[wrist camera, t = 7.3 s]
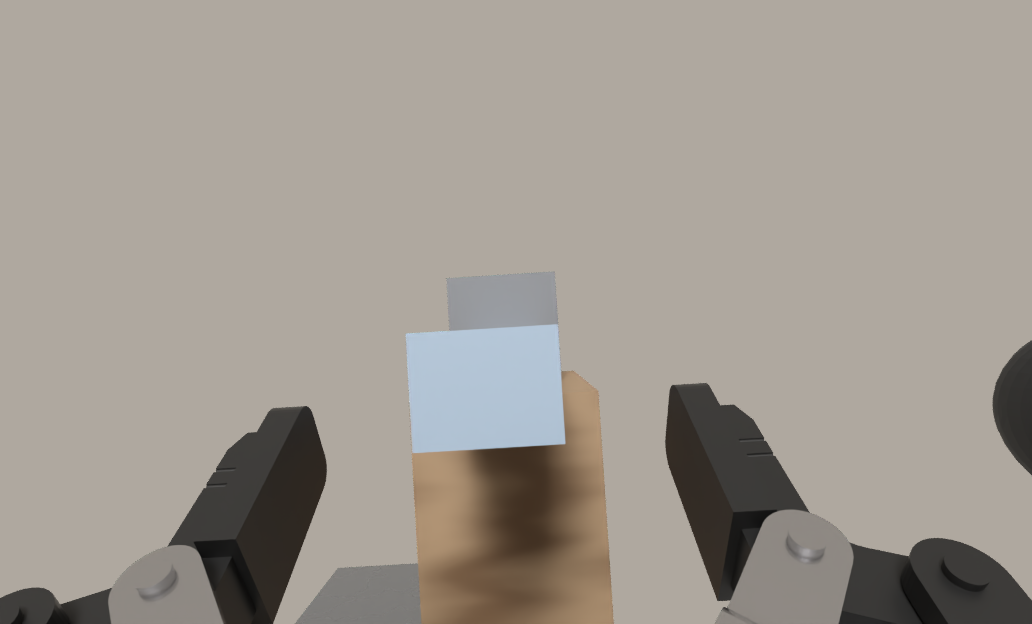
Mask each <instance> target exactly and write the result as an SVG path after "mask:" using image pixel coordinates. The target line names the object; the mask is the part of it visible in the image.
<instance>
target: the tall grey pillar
mask: <svg viewBox="0 0 1032 624" xmlns="http://www.w3.org/2000/svg"><path fill="white" fill-rule="evenodd" d="M295 624H421V608H420V590H419V572H418V564H401V565H384V566H366V567H349V568H338V569H337V570H336V571H335V573H334V574H333V575H332V577H331V578H330V579H329V580H328V582H327V583H326V584H325V586H324V587H323V588H322V589H321V591H320V592H319V593H318V595H317V596H316V597H315V598H314V600H313V601H312V602H311V604H310V605H309V606H308V608H307V609H306V610H305V612H304V613H303V614H302V615H301V617H300V618H299V619H298V620H297V622H296V623H295Z"/></svg>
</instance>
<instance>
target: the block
mask: <svg viewBox="0 0 1032 624" xmlns="http://www.w3.org/2000/svg"><path fill="white" fill-rule="evenodd" d="M447 296H448V313H449V330H450V331H442V332H425V333H409V334H406V346H407V365H408V383H409V401H410V419H411V437H412V453H425V452H442V451H458V450H475V449H492V448H508V447H525V446H541V445H558V444H565V429H564V413H563V398H562V382H561V380H562V378H561V363H560V347H559V332H558V316H557V301H556V286H555V272H540V273H524V274H508V275H493V276H476V277H461V278H447Z"/></svg>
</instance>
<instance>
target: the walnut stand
mask: <svg viewBox="0 0 1032 624" xmlns="http://www.w3.org/2000/svg"><path fill="white" fill-rule="evenodd" d="M561 378H562V380H561V382H562V398H563V413H564V429H565V444H558V445H541V446H525V447H508V448H492V449H475V450H458V451H442V452H425V453H412V464H413V481H414V500H415V517H416V535H417V554H418V572H419V590H420V608H421V624H614V622H613V606H612V591H611V575H610V561H609V545H608V530H607V516H606V500H605V485H604V470H603V455H602V440H601V426H600V410H599V395H598V390H596V389H595V388H594V387H593V386H592V385H590V384H589V383H588V382H587V381H585V380H584V379H583V378H582V377H581V376H579V375H578V374H577V373H576V372H574V371H562V372H561ZM409 411H410V402H409ZM410 429H411V419H410ZM411 446H412V437H411Z"/></svg>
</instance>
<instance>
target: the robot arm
mask: <svg viewBox="0 0 1032 624" xmlns="http://www.w3.org/2000/svg"><path fill="white" fill-rule="evenodd" d="M993 413H994V418H995V422H996V425H997V429H998V431H999V433H1000V435H1001V437H1002V439H1003V441H1004V443H1005V445H1006V446H1007V447H1008V449H1009V450H1010V452H1011V453H1012V454H1013V456H1014V457H1015V458H1016V460H1017V461H1018V462H1019V463H1020V464H1021V465H1022V466H1023V467H1024V468H1025V469H1026V470H1027V471H1028V472H1029V473H1030V474H1031V475H1032V341H1030V342H1028V343H1027V344H1026V345H1024V346H1023V347H1022V348H1020V349H1019V350H1018V351H1017V352H1016V353H1015V354H1014V355H1013V356H1012V358H1011V359H1010V360H1009V362H1008V363H1007V364H1006V366H1005V367H1004V368H1003V370H1002V372H1001V374H1000V376H999V378H998V380H997V382H996V386H995V390H994V395H993ZM665 443H666V454H667V460H668V465H669V468H670V470H671V474H672V476H673V479H674V482H675V485H676V487H677V490H678V493H679V496H680V498H681V501H682V504H683V506H684V509H685V512H686V515H687V518H688V520H689V523H690V526H691V528H692V532H693V534H694V537H695V540H696V543H697V545H698V548H699V551H700V554H701V556H702V559H703V562H704V565H705V567H706V570H707V573H708V575H709V578H710V581H711V584H712V587H713V589H714V592H715V595H716V598H717V601H727V600H731V601H730V603H729V605H728V607H727V608H725V607H724V608H723V609H722V610H721V612H720V614H719V616H718V618H717V620H716V622H715V624H1032V600H1031V599H1030V598H1029V597H1028V596H1027V594H1026V593H1025V592H1024V591H1023V589H1022V588H1021V587H1020V586H1019V585H1018V583H1017V582H1016V581H1015V580H1014V579H1013V577H1012V576H1011V575H1010V574H1009V573H1008V572H1007V571H1006V570H1005V569H1004V568H1003V567H1002V566H1001V565H1000V564H999V563H998V562H996V561H995V560H994V559H992V558H991V557H989V556H988V555H986V554H985V553H983V552H981V551H979V550H977V549H975V548H973V547H971V546H969V545H966V544H964V543H961V542H957V541H954V540H948V539H943V538H931V539H926V540H922V541H920V542H918V543H917V544H916V545H915V546H914V547H913V548H912V550H911V552H910V555H909V556H903V555H899V554H894V553H889V552H884V551H880V550H875V549H869V548H865V547H862V546H857V545H855V544H852V543H849V541H848V540H847V538H846V537H845V536H844V535H843V533H842V532H841V531H840V530H838V528H837V527H835V526H834V525H833V524H831V523H830V522H828V521H826V520H825V519H823V518H821V517H819V516H817V515H815V514H812V513H810V512H809V511H808V509H807V508H806V506H805V504H804V503H803V501H802V499H801V498H800V496H799V494H798V493H797V491H796V489H795V488H794V486H793V485H792V483H791V481H790V480H789V478H788V477H787V475H786V473H785V471H784V470H783V468H782V466H781V465H780V463H779V461H778V460H777V459H776V457H775V456H773V452H772V450H771V448H770V447H769V445H768V443H767V442H766V441H764V437H763V435H762V434H761V432H760V430H759V429H758V427H757V425H756V424H755V422H754V420H753V419H752V418H750V417H749V416H748V415H746V414H745V413H744V412H743V411H741V410H740V409H739V408H737V407H736V406H735V405H721V406H720V404H719V403H718V401H717V399H716V397H715V395H714V393H713V392H712V390H711V388H710V386H709V385H708V384H707V383H699V384H683V385H672V386H671V388H670V394H669V405H668V416H667V427H666V440H665ZM326 473H327V465H326V459H325V454H324V451H323V448H322V445H321V441H320V438H319V434H318V431H317V427H316V424H315V420H314V417H313V414H312V411H311V410H310V408H309V407H307V406H303V407H286V408H273V409H271V410H270V411H269V412H268V414H267V416H266V417H265V419H264V421H263V423H262V424H261V426H260V428H259V429H258V431H257V432H254V433H247V434H246V435H245V436H243V437H242V438H241V439H240V440H239V441H238V442H236V443H235V444H234V445H233V446H232V447H231V448H229V449H228V450H227V452H226V454H225V455H224V457H223V459H222V460H221V462H220V463H219V465H218V466H217V468H216V472H214V473H213V475H212V476H211V478H210V479H209V481H208V482H207V487H206V488H204V489H203V491H202V493H201V494H200V495H199V497H198V498H197V500H196V502H195V503H194V505H193V506H192V508H191V510H190V511H189V513H188V514H187V516H186V518H185V519H184V521H183V522H182V524H181V526H180V527H179V529H178V530H177V532H176V534H175V535H174V537H173V538H172V540H171V542H170V543H169V545H168V546H167V547H164V548H161V549H158V550H156V551H153V552H151V553H149V554H147V555H145V556H144V557H142V558H140V559H139V560H137V561H136V562H135V563H133V564H132V565H131V566H130V567H128V568H127V569H126V570H125V571H124V572H123V573H122V575H121V576H120V577H119V578H118V580H117V581H116V582H115V584H114V586H113V587H112V588H110V589H107V590H105V591H101V592H98V593H95V594H92V595H89V596H86V597H82V598H79V599H76V600H73V601H70V602H67V603H64V604H59V602H58V601H57V599H56V598H55V597H54V595H53V594H52V593H51V592H50V591H49V590H46V589H44V588H28V589H23V590H19V591H16V592H13V593H11V594H8V595H6V596H4V597H2V598H0V624H273V622H274V619H275V617H276V614H277V611H278V609H279V606H280V603H281V601H282V598H283V595H284V593H285V590H286V587H287V585H288V582H289V579H290V577H291V574H292V571H293V569H294V566H295V563H296V561H297V558H298V555H299V553H300V550H301V547H302V545H303V542H304V539H305V537H306V534H307V531H308V529H309V526H310V523H311V521H312V518H313V515H314V513H315V510H316V507H317V505H318V502H319V499H320V497H321V494H322V491H323V489H324V486H325V482H326Z"/></svg>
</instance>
